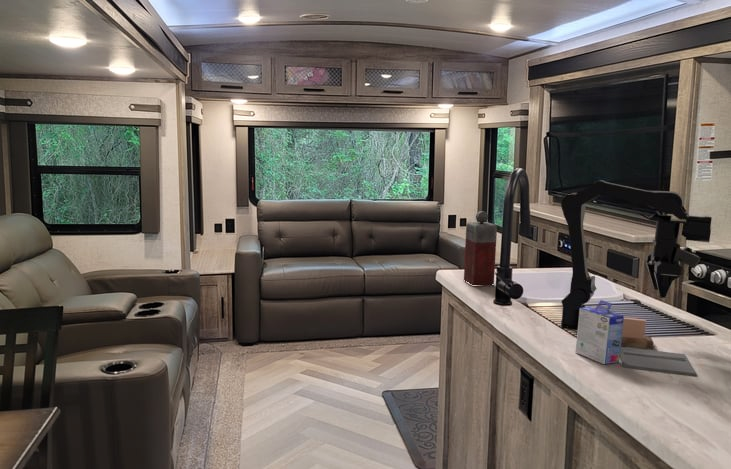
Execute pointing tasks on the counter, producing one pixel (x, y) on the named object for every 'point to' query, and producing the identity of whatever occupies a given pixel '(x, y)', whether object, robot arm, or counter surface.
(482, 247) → the square decanter
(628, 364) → the mat
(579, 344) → the ink cartridge box
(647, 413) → the counter surface
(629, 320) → the tile
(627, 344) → the stand
